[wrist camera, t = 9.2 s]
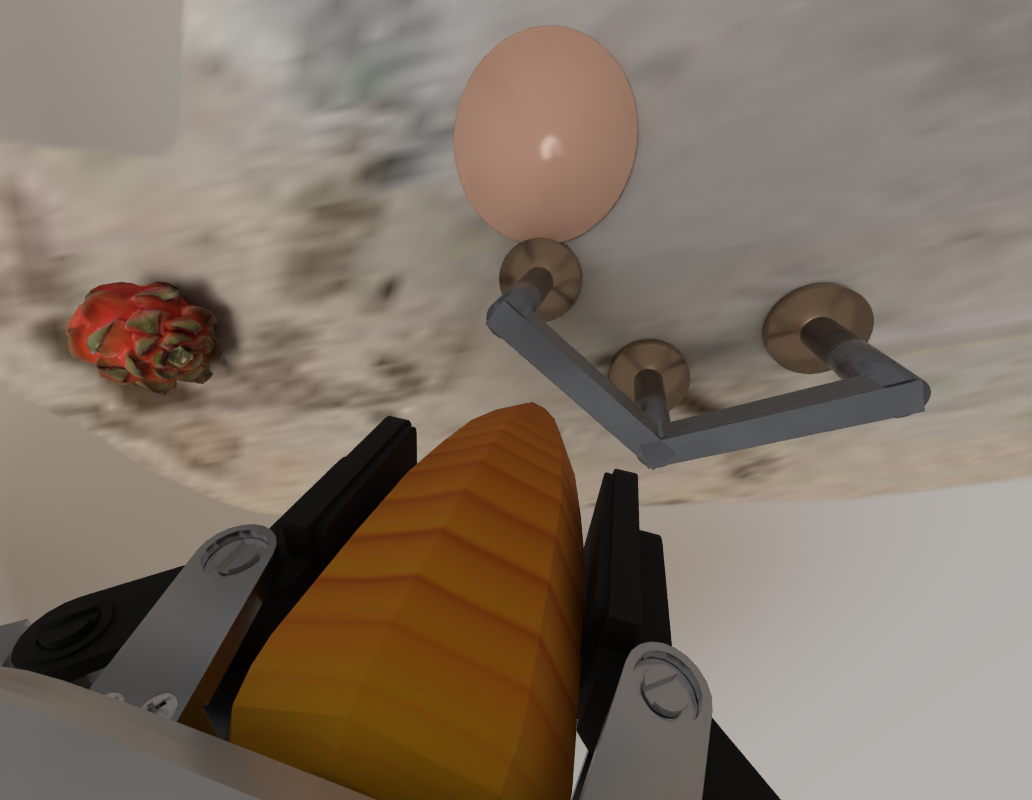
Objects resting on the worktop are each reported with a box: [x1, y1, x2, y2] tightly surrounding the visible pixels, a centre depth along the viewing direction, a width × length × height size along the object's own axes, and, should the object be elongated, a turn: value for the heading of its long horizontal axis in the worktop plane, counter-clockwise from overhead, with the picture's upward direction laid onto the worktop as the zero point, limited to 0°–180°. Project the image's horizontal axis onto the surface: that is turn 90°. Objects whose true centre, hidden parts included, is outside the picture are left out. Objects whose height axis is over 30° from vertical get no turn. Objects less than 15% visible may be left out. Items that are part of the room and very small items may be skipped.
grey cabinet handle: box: [486, 238, 931, 470], centre depth 22 cm, size 21×10×9 cm, turn 83°
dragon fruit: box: [66, 282, 223, 395], centre depth 32 cm, size 8×8×12 cm
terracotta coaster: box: [454, 26, 638, 243], centre depth 22 cm, size 10×10×1 cm
